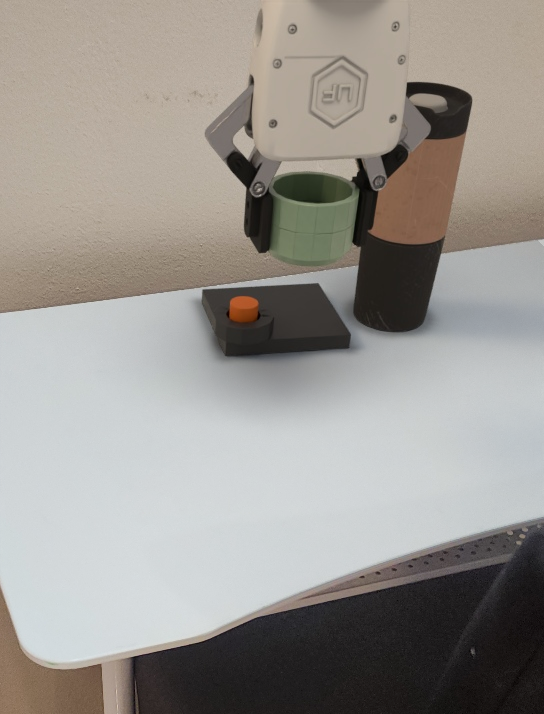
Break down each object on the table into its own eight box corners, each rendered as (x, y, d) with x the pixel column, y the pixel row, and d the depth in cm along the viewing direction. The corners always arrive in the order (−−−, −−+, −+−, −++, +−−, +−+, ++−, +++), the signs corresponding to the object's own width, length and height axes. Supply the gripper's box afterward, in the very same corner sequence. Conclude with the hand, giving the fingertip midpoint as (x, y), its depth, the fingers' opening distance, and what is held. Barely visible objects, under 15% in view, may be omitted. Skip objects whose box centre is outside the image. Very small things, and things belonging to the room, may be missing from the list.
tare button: (253, 311, 93) (255, 295, 92) (260, 323, 91) (261, 307, 90) (226, 312, 93) (227, 296, 92) (232, 325, 91) (233, 309, 90)
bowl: (334, 230, 77) (342, 169, 74) (362, 266, 72) (372, 203, 69) (251, 235, 76) (256, 173, 73) (274, 272, 71) (280, 208, 68)
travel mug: (368, 291, 103) (404, 75, 89) (438, 310, 100) (486, 91, 86) (337, 319, 98) (369, 96, 84) (410, 340, 95) (456, 114, 81)
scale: (316, 296, 102) (320, 267, 100) (351, 352, 93) (356, 321, 91) (194, 302, 100) (195, 273, 98) (218, 360, 91) (220, 330, 89)
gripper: (215, -31, 57) (203, 272, 70) (495, -35, 60) (435, 256, 73) (188, -57, 62) (181, 229, 75) (447, -60, 65) (399, 216, 78)
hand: (307, 240), depth 74 cm, fingers closed on bowl, 6 cm apart
